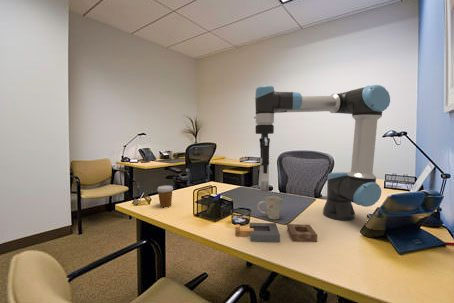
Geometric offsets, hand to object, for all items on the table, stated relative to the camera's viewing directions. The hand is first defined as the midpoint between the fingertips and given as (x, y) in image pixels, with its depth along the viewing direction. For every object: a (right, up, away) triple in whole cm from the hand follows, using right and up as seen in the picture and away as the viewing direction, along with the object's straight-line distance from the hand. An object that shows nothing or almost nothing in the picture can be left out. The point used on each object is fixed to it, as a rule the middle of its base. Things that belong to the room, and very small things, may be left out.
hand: (264, 179), depth 95 cm
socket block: (0, -24, +2) cm, 24 cm away
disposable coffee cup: (-53, -22, +42) cm, 71 cm away
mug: (+6, -23, +23) cm, 33 cm away
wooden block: (-8, -24, +3) cm, 26 cm away
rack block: (+16, -24, +1) cm, 29 cm away
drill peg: (0, -5, 0) cm, 5 cm away
